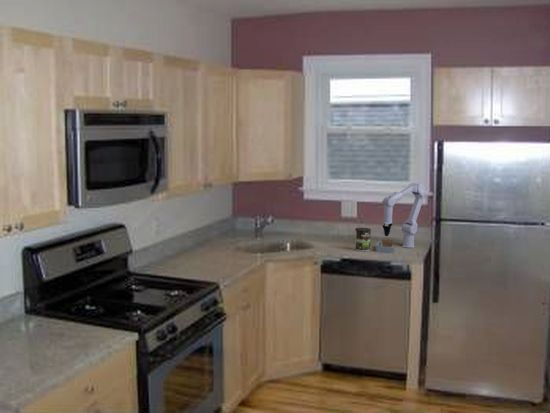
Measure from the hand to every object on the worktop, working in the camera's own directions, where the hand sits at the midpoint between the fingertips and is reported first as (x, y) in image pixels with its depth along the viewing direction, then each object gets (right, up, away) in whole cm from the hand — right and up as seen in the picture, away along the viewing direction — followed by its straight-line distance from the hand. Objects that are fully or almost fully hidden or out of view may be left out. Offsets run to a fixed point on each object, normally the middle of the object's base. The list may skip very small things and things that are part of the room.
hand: (387, 235), depth 419 cm
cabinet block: (0, -9, +1) cm, 10 cm away
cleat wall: (-2, -10, -1) cm, 10 cm away
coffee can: (-17, -10, -3) cm, 20 cm away
